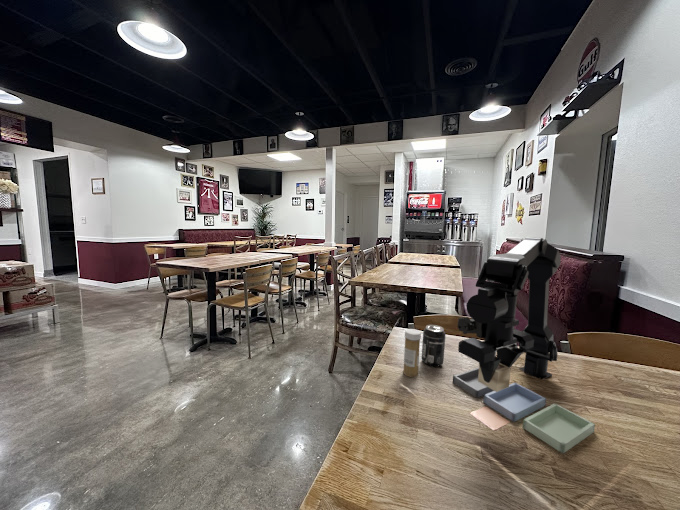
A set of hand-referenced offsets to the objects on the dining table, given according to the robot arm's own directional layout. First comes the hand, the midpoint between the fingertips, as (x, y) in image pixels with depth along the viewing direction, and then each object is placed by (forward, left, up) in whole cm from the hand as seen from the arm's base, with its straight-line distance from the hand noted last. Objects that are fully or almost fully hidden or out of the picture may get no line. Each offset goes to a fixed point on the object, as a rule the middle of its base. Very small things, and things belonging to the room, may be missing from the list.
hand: (493, 379), depth 62 cm
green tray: (-10, +9, -10) cm, 17 cm away
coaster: (0, 0, -10) cm, 10 cm away
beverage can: (-7, -25, -10) cm, 28 cm away
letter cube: (0, 0, -1) cm, 1 cm away
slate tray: (-10, 0, -10) cm, 15 cm away
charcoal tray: (-10, -10, -10) cm, 18 cm away
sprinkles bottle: (+4, -23, -10) cm, 25 cm away
